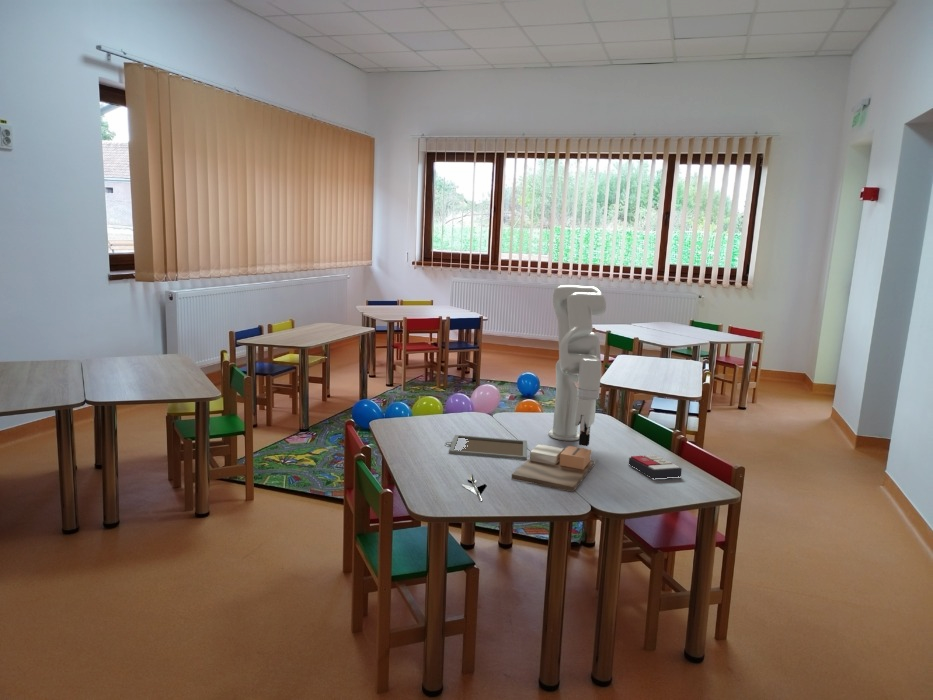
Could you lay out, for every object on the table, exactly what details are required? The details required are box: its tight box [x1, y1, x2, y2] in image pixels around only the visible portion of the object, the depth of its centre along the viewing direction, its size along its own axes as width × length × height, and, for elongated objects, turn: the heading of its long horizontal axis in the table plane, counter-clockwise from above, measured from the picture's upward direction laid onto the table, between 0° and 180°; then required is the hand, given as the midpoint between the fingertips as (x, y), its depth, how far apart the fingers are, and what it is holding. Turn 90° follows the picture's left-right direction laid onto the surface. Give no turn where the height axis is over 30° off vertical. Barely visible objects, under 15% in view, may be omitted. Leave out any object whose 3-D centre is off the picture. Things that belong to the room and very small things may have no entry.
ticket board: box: [511, 443, 595, 492], centre depth 208 cm, size 28×20×4 cm
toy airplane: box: [461, 474, 488, 502], centre depth 191 cm, size 8×21×2 cm, turn 9°
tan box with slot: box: [560, 445, 592, 470], centre depth 212 cm, size 10×8×4 cm
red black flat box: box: [628, 454, 683, 479], centre depth 214 cm, size 11×4×15 cm
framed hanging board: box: [444, 434, 528, 461], centre depth 229 cm, size 19×2×30 cm
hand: (583, 444), depth 220 cm, fingers closed
